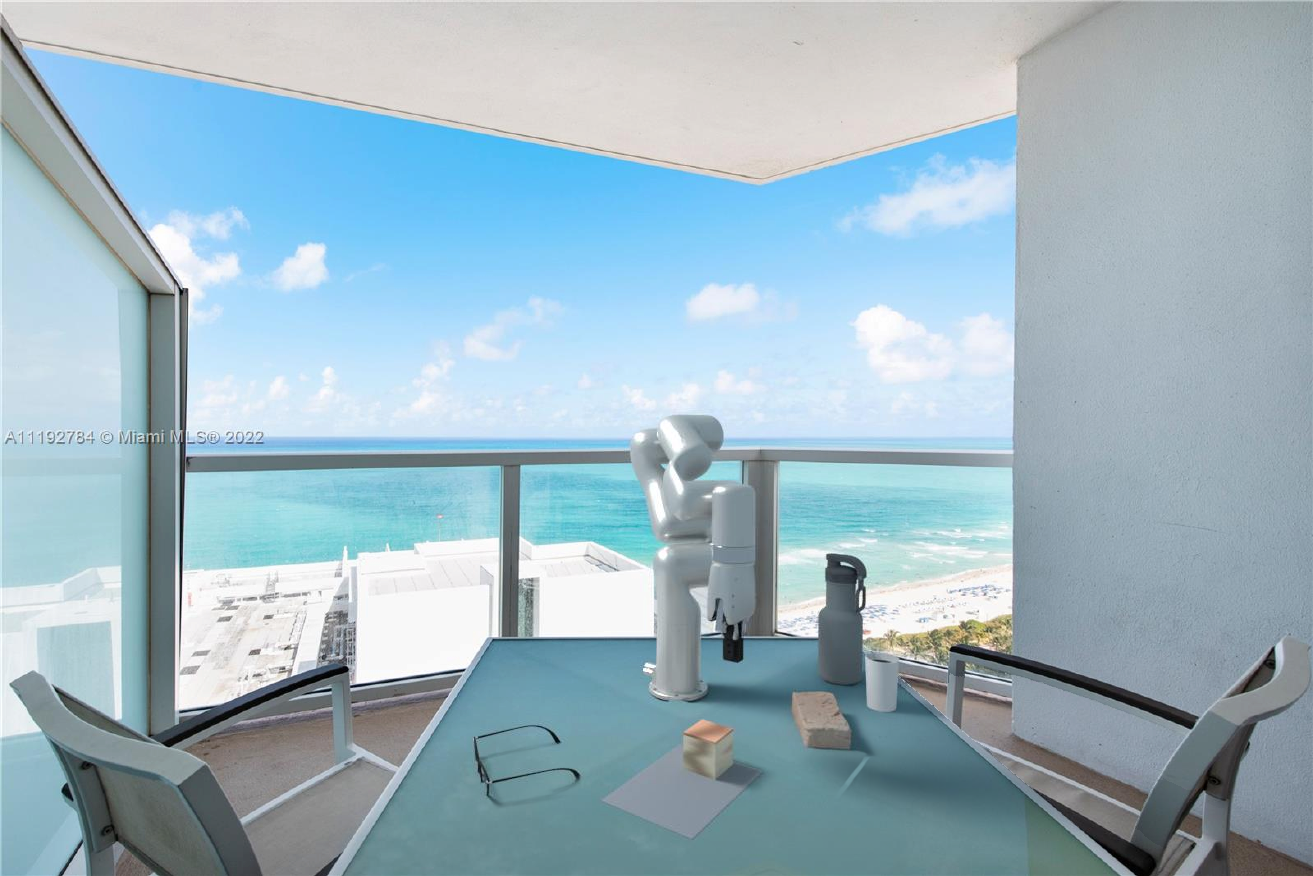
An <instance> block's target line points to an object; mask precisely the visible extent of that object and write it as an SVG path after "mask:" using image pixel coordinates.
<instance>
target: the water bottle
mask: <svg viewBox="0 0 1313 876" xmlns="http://www.w3.org/2000/svg"><path fill="white" fill-rule="evenodd" d="M825 560H827V564H826V567H825V568H824V571H825V572H824V578H825V579H824V581H825V585H826V586H825V607H823V608H821V609H820V611H819V613H818V617H817V618H818V622H817V624H818V628H817V629H818V630H817V633H818V634H817V635H818V636H817V675H818V676H819V678H820V679H822V681H825V682H827V683H829V682H830V684H833V685H837V684H838V685H839V686H850V685H851V686H853V685H855V684H858V683H860V682H861V680H862V679H863V649H864V647H863V645H864V644H863V641H864V640H863V639H864V638H863V637H864V635H863V634H864V633H863V631H864V627H863V626H864V623H863V621H864V619H863V615H862V613H861V612H862V611H864V609H866V603H867V602H866V601H867V599H866V598H867V595H866V593H867V588H866V586H865V585H864V584H865V581H864V580H865V579H866V578H867V575H868V574H867V568H866V566H865V564H864V562H862V561H861V559H859V558H858V557H856V556H854V555H849V554H843V553H842V554H841V553H826V554H825ZM842 563H844V564H842ZM845 563H846V564H848V565H845ZM860 593H862V598H861V599H862V602H861V606H860Z"/></svg>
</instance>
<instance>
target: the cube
mask: <svg viewBox="0 0 1313 876" xmlns="http://www.w3.org/2000/svg"><path fill="white" fill-rule="evenodd" d="M682 734H683V735H682V736H683V737H682V738H683V739H682V744H683V769H685V770H688V771H691V772H694V773H697V774H699V775H702V776H705V777H708V778H711V779H713V780H716V779H717V778H718V777H719V776H720V775H721V774H722V773H724V772H725V771H726V770H727V769H728V768H729V767H730V766H732V765H733V761H734V728H733V727H729V726H726V725H723V724H719V723H716V722H713V721H710V720H706V719H703V718H701V719H700V720H699V721H698V722H696V723H695V724H693V725H691V726H690V727H689V728H687V729H686V730H685V731H683V733H682Z"/></svg>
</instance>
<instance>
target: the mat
mask: <svg viewBox="0 0 1313 876" xmlns="http://www.w3.org/2000/svg"><path fill="white" fill-rule="evenodd" d="M763 772H764V771H763V770H760V769H758V768H755V767H752V766H748V765H745V764H742V763H739V762H736V761H735V760H733V765H732V766H730V767H729V768H728V769H727V770H726V771H725V772H724V773H722V774H721V775H720V776H719V777H718V778H717V779H716V780H713V779H711V778H708V777H705V776H702V775H699V774H697V773H694V772H691V771H688V770H685V769H683V743H679V744H678V745H677V746H674V748H672V749H670V750H669V751H668V752H666V753H665V754H664V755H662V756H660V758H658V759H657V760H656V761H654V762H652V763H651V764H649V766H647V767H645V768H644V769H643V770H641V771H640V772H638V773H637V774H636V775H634V776H633V777H632V778H630V779H629V780H627V781H626V782H624V783H623V784H622V785H620V786H619V787H617V788H616V789H615V790H614V791H612V792H611V793H609V794H608V795H606V796H605V797H604V798H602V799H601V800H600V801H601V802H603V803H606V804H607V805H610V806H612V807H614V808H616V809H619V810H621V811H624V812H627V813H629V814H632V815H633V816H636V817H638V818H640V819H643V820H644V821H647V822H650V823H652V824H655V825H656V826H659V827H661V828H664V829H666V830H668V831H671V832H673V833H676V834H678V835H681V836H682V837H685V838H688V839H689V840H694V839H695V838H696V837H697V835H699V834H700V833H701V832H702V831H703V830H704V829H705V828H706V827H707V826H708V825H709V824H710V823H711V822H712V821H713V820H714V819H715V818H716V817H717V816H719V814H721V812H723V810H725V808H727V806H728V805H730V804H731V803H732V802H733V801H734V800H735V799H736V798H737V797H738V796H739V795H740V794H741V793H742V792H743V791H744V790H745V789H746V788H747V787H748V786H750V784H751V783H753V781H755V779H757V778H758V776H760V775H761V774H762V773H763Z"/></svg>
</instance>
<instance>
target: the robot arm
mask: <svg viewBox="0 0 1313 876" xmlns="http://www.w3.org/2000/svg"><path fill="white" fill-rule="evenodd" d="M724 433H725V432H724V429H723V426H722V424H721V422H720V421H719V420H718V419H717V418H716V417H714V416H712V415H709V414H708V415H707V414H706V415H705V414H672V415H669V416H667V417H665V418H663V419H662V420H661V421H660V422H659V424H658V425H657V427H653V428H651V427H650V428H646V429H642V430H639V431H637V432H635V434H633V436H632V437H631V439H630V443H629V453H630V461H631V465H632V470H633V472H634V474H635V477H636V478H637V480H638V483H639V484H640V487H641V488H642V491H643V493H644V496H645V501H646V507H647V512H648V517H649V522H650V527H651V530H652V534H653V536H654V538H655V539H656V541H658V542H659V543H663V544H665V545H664V546H661V547H660V548H657V550H656V552H655V553H654V555H653V559H652V567H653V568H652V569H653V576H654V582H655V590H656V591H655V592H656V663H652V662H650V661H647V662H646V663H645V665H644V668H643V670H642V674H643V675H646V676H651V681H650V682H649V683H648V691H649V693H650V694H651V695H652V696H654V697H655V698H657V699H660V700H662V701H663V700H664V701H668V702H669V701H670V700H671V701H672V700H673V701H682V702H691V701H695V700H697V701H698V700H699V699H701V698H703V697H704V696H705V695H707V693H708V684H707V683H706V681H704V680H703V679H701V656H702V654H701V652H702V649H701V647H702V646H701V644H702V642H701V641H702V636H701V635H702V610H701V606H700V604H699V602H698V601H697V600H696V598H695V597H694V596H693V595H692V593H691V590H692V589H699V588H707V599H706V601H707V602H706V619H707V621H708V622H711V623H712V622H715V628H714V630H715V633H716V632H717V633H720V634H721V638H722V659H723V660H724V661H725V662H726V661H727V662H732V663H737V664H739V663H740V662H742V661H744V637H745V635H746V624H747V623H748V622H749V621H750V620H751V616H753V615H754V614H755V611H756V599H757V598H756V594H757V593H756V576H755V575H756V573H755V565H756V491H755V489H754V487H753V486H752V485H750V484H746V483H745V484H744V483H740V482H738V481H736V480H729V479H727V480H726V479H724V480H722V479H721V480H720V479H719V480H715V479H714V480H710V479H709V480H704V479H702V480H701V479H700V480H698V479H699V478H701V477H702V476H704V475H706V473H707V472H708V471H709V470H710V468H711V466H712V464H713V459H714V458H713V456H714V455H715V454H717V453H718V452H719V451H720V450H721V448H722V446H723V443H724V435H725V434H724ZM663 465H667V466H666V468H665V467H663ZM666 544H667V545H666Z"/></svg>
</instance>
